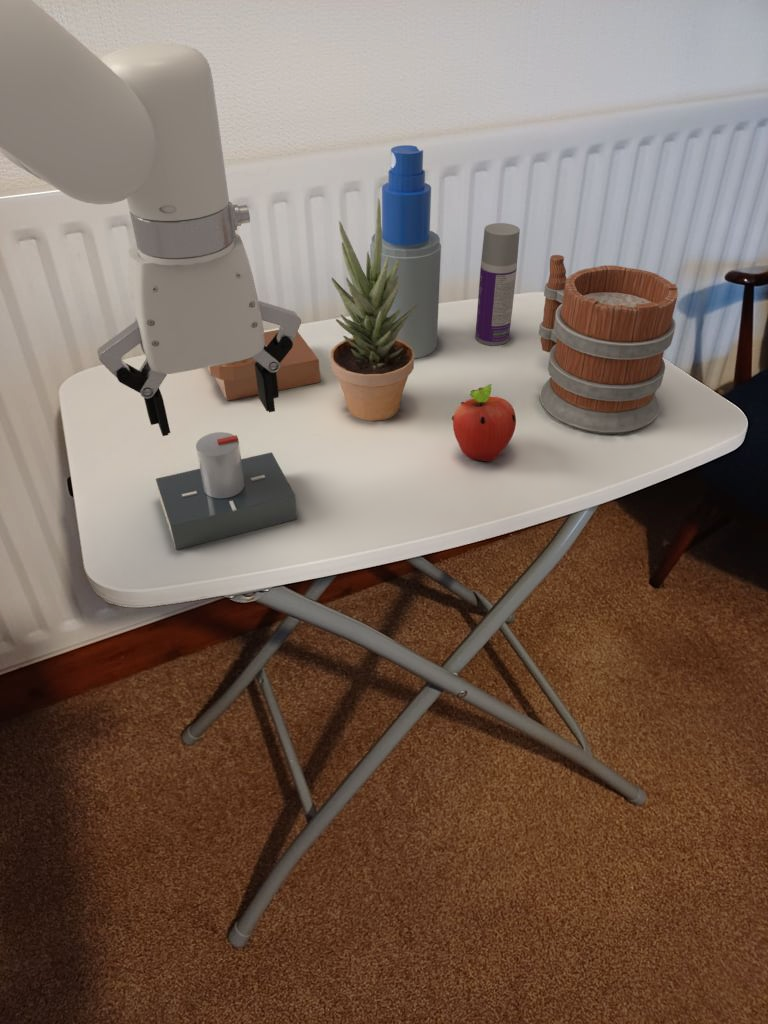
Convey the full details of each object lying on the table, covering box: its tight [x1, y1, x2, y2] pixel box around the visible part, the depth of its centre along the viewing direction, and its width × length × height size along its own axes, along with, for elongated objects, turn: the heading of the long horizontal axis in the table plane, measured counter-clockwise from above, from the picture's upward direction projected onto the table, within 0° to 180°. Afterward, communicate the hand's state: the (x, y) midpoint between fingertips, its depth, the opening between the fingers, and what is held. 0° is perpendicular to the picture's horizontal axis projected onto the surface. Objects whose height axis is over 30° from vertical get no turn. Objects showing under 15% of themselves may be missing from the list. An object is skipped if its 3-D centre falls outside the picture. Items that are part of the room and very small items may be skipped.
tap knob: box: [195, 431, 245, 498], centre depth 75 cm, size 4×4×5 cm
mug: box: [538, 254, 679, 435], centre depth 92 cm, size 14×19×15 cm
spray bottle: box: [369, 144, 442, 360], centre depth 99 cm, size 9×9×25 cm
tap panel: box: [155, 452, 298, 551], centre depth 78 cm, size 12×8×3 cm
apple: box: [451, 383, 517, 463], centre depth 83 cm, size 8×7×10 cm
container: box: [474, 222, 521, 346], centre depth 104 cm, size 5×5×15 cm
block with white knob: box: [206, 329, 321, 402], centre depth 98 cm, size 13×11×5 cm
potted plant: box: [330, 197, 419, 422], centre depth 86 cm, size 10×10×25 cm
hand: (216, 416), depth 72 cm, fingers open, 9 cm apart
